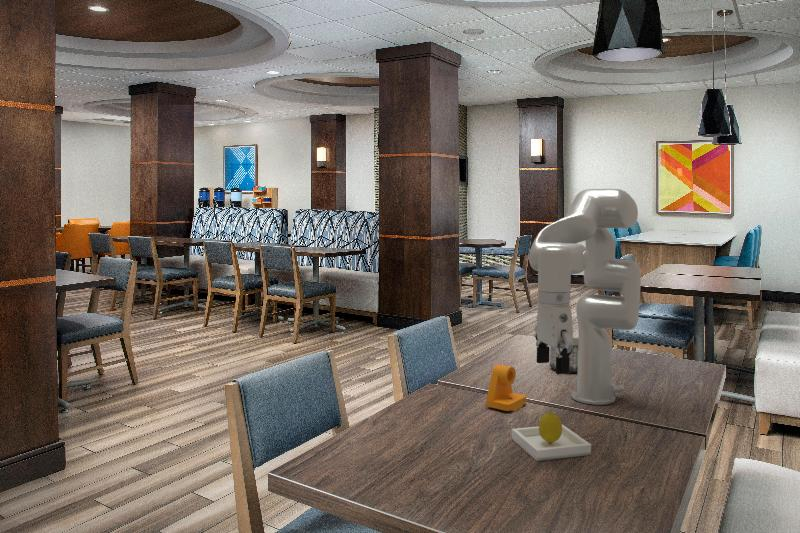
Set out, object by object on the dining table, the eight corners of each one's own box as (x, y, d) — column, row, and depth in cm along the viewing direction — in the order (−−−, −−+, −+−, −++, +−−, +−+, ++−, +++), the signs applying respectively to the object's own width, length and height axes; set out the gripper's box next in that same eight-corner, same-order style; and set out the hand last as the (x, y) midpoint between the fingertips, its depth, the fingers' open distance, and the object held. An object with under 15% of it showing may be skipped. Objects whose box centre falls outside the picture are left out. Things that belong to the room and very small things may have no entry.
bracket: (508, 414, 178) (508, 372, 176) (486, 408, 182) (486, 368, 181) (527, 404, 186) (528, 364, 184) (506, 399, 190) (506, 360, 189)
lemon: (535, 440, 157) (536, 408, 156) (557, 438, 158) (557, 407, 157) (542, 448, 152) (543, 416, 151) (565, 447, 152) (565, 415, 151)
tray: (561, 433, 163) (562, 424, 163) (590, 454, 150) (591, 444, 149) (511, 438, 160) (511, 429, 159) (536, 461, 146) (536, 450, 146)
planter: (557, 363, 232) (558, 335, 231) (592, 368, 224) (592, 339, 223) (544, 370, 221) (544, 341, 220) (579, 376, 214) (580, 346, 213)
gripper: (587, 303, 143) (585, 377, 145) (550, 291, 160) (549, 357, 162) (557, 305, 141) (555, 379, 143) (523, 293, 158) (522, 359, 160)
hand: (552, 367), depth 153 cm, fingers open, 9 cm apart
